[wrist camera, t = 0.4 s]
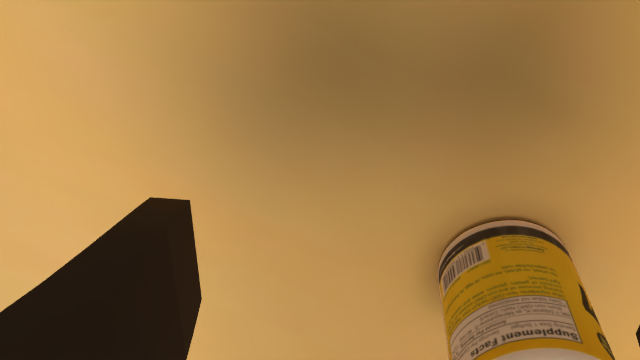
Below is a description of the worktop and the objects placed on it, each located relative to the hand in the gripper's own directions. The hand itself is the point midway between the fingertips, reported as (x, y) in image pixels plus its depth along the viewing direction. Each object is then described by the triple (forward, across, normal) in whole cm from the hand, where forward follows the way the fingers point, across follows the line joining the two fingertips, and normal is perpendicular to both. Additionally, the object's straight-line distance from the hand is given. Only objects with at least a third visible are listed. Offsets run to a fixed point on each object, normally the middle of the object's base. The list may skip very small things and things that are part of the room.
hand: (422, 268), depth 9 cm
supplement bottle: (+10, -5, +8) cm, 14 cm away
